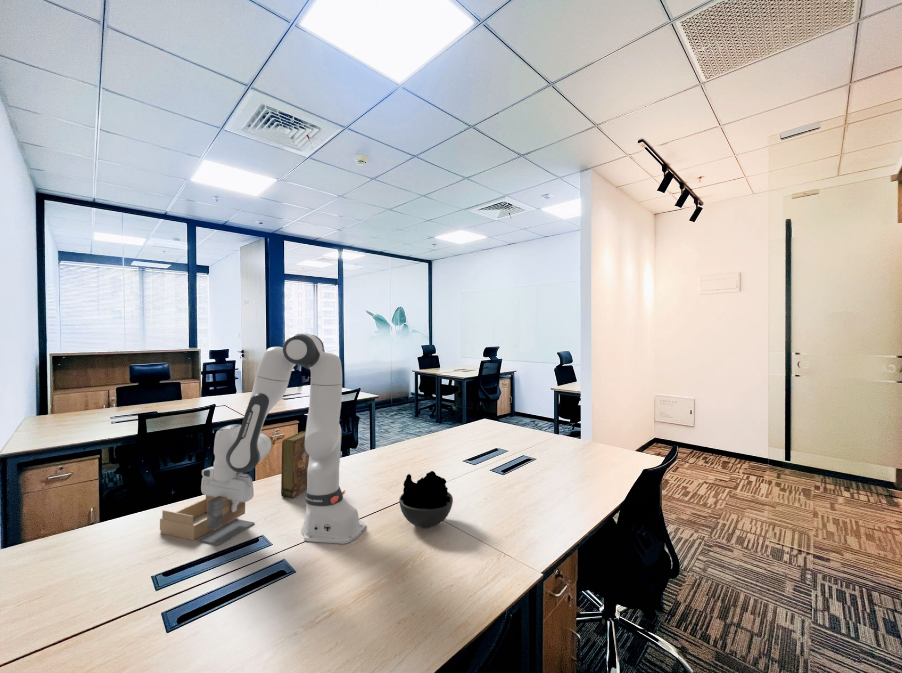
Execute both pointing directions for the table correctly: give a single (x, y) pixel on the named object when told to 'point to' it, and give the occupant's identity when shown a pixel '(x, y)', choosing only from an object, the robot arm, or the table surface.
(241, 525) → the mat
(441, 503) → the coal bowl
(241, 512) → the capped box
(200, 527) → the carton
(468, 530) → the table surface
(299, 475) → the book
